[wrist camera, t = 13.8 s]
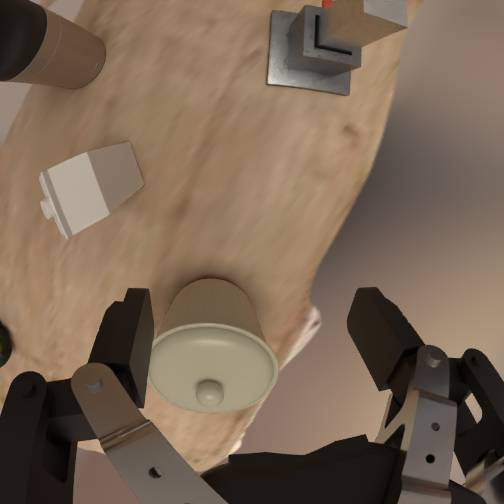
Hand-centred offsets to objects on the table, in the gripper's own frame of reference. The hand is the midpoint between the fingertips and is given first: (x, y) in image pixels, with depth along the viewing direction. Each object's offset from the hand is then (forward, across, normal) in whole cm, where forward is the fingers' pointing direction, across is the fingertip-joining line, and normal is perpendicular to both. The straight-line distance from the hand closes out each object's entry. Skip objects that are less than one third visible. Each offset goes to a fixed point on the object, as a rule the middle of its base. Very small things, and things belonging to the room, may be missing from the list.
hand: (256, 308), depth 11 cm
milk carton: (+35, +16, +3) cm, 39 cm away
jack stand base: (+35, -12, -16) cm, 40 cm away
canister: (+33, +1, +26) cm, 42 cm away
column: (+28, -11, -17) cm, 35 cm away
